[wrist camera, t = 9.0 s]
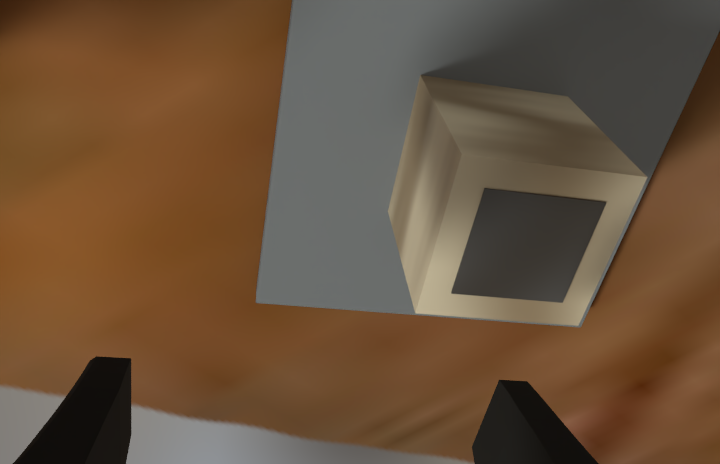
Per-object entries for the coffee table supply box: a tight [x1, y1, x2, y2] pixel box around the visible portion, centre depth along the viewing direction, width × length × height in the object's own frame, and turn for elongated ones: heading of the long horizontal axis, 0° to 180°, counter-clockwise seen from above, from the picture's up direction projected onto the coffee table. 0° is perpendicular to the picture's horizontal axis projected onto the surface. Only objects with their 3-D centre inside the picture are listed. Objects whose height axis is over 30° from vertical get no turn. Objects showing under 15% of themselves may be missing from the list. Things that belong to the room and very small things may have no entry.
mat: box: [256, 0, 720, 327], centre depth 21 cm, size 12×12×1 cm
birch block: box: [388, 75, 647, 326], centre depth 18 cm, size 4×4×5 cm
